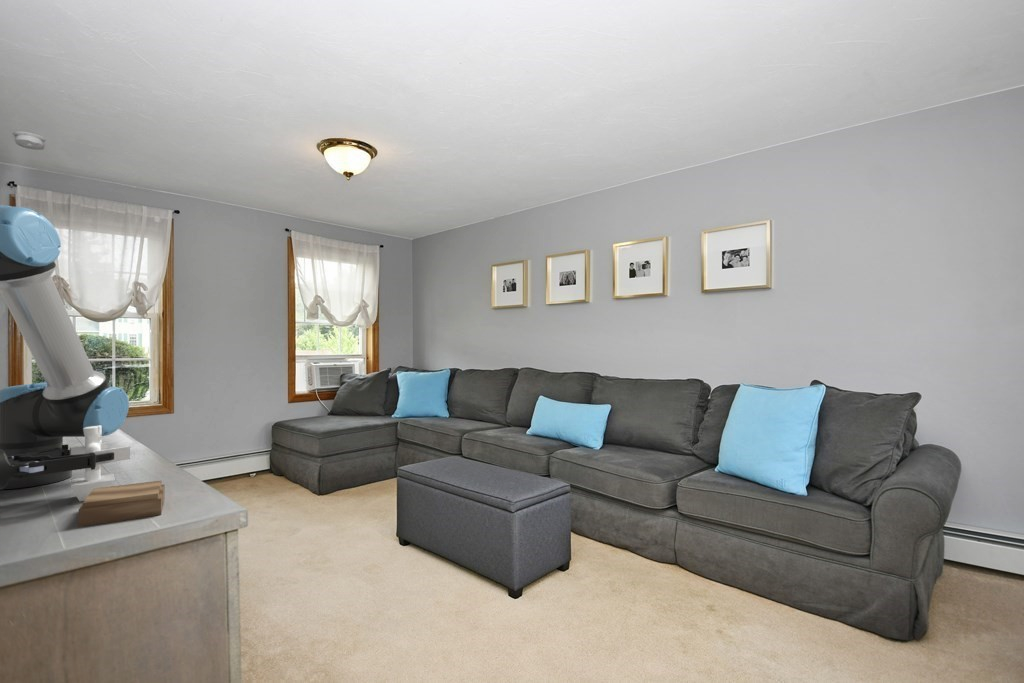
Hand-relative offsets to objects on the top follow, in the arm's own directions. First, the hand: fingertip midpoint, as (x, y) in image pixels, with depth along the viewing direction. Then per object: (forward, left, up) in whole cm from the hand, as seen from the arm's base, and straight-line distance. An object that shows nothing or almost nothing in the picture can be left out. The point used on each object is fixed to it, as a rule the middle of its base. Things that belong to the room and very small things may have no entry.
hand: (117, 450), depth 112 cm
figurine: (+2, -4, -9) cm, 10 cm away
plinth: (+18, +3, -9) cm, 21 cm away
